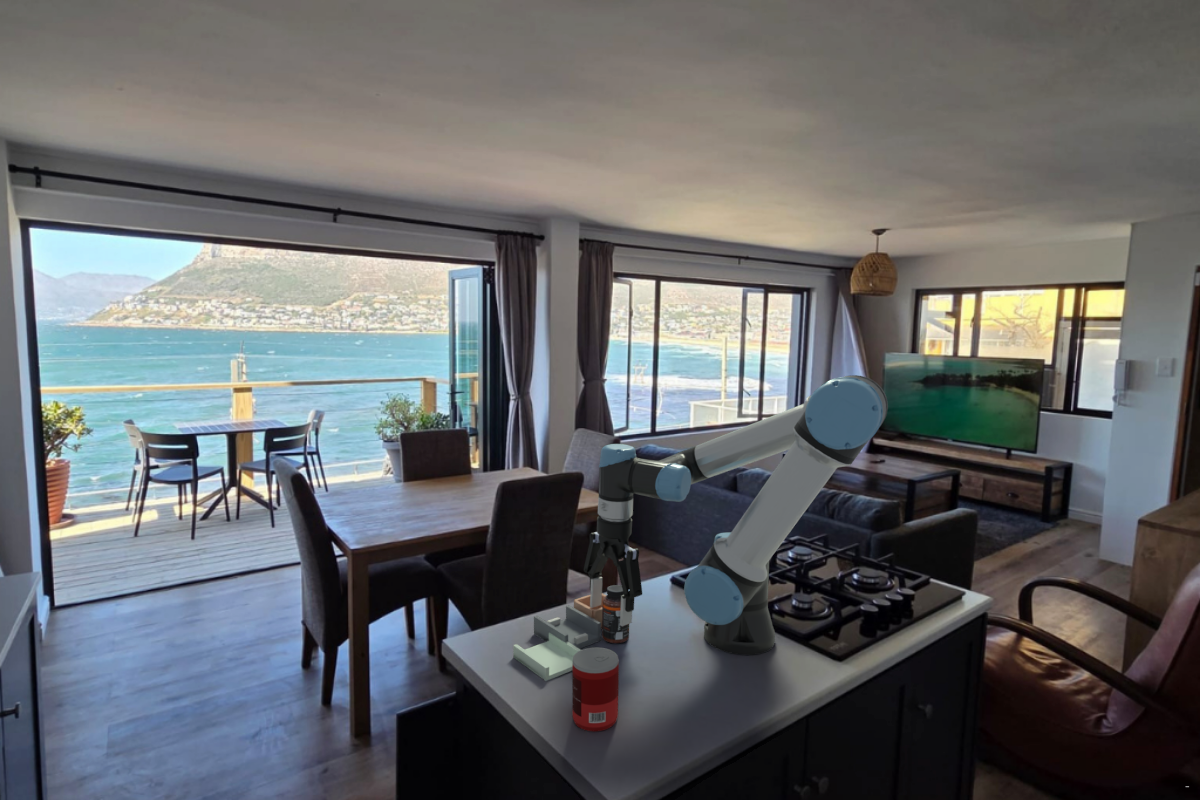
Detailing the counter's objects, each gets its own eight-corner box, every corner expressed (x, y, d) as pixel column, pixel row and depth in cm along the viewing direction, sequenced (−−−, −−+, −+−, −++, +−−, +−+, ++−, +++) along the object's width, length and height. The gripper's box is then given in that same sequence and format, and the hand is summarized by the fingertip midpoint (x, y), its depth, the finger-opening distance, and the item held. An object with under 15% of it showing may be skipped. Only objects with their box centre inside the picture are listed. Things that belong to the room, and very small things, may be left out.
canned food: (627, 717, 109) (628, 656, 108) (596, 739, 103) (596, 674, 102) (594, 700, 114) (594, 642, 113) (563, 720, 108) (563, 658, 107)
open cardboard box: (620, 622, 145) (621, 602, 145) (594, 632, 140) (594, 611, 140) (598, 611, 151) (599, 591, 151) (572, 620, 146) (572, 600, 146)
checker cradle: (600, 640, 137) (600, 622, 136) (565, 654, 130) (565, 635, 130) (568, 621, 145) (568, 605, 145) (533, 634, 139) (533, 616, 139)
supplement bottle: (626, 646, 134) (627, 594, 133) (599, 643, 135) (599, 592, 134) (631, 633, 140) (631, 584, 139) (604, 630, 141) (605, 581, 140)
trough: (585, 665, 126) (585, 652, 126) (545, 681, 120) (545, 668, 120) (551, 643, 135) (551, 631, 135) (513, 657, 129) (513, 645, 129)
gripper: (570, 505, 142) (566, 600, 145) (636, 534, 125) (631, 640, 128) (595, 500, 146) (592, 592, 149) (663, 527, 129) (657, 630, 132)
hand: (610, 614), depth 139 cm, fingers open, 9 cm apart
